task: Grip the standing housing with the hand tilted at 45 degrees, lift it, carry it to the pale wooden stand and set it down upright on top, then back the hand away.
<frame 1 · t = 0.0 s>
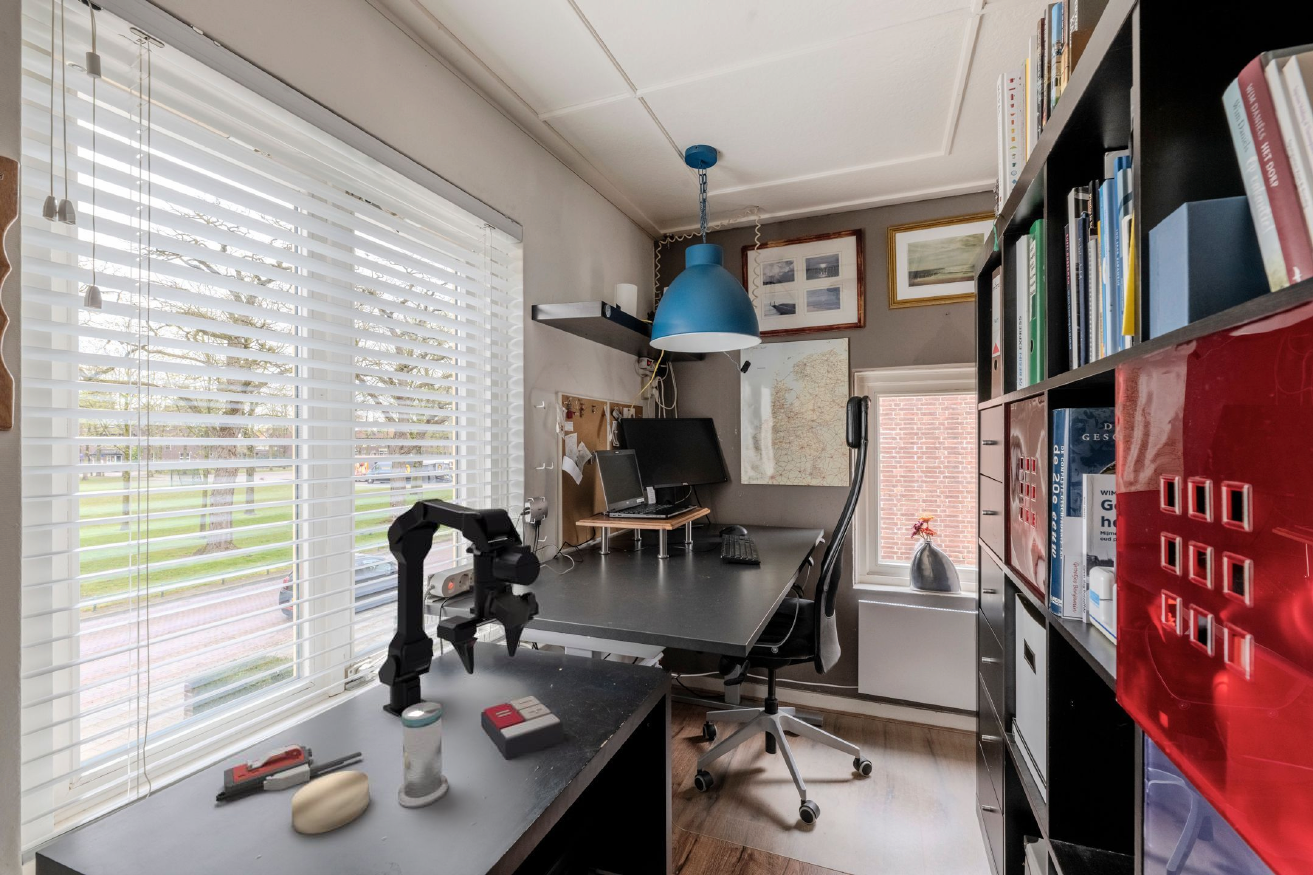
hand: (491, 664, 100), 15 cm above the table, tool pointing down, fingers open, 9 cm apart
housing: (423, 792, 87), on the table
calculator: (521, 735, 105), on the table
stand: (331, 810, 83), on the table
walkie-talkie: (291, 777, 93), on the table
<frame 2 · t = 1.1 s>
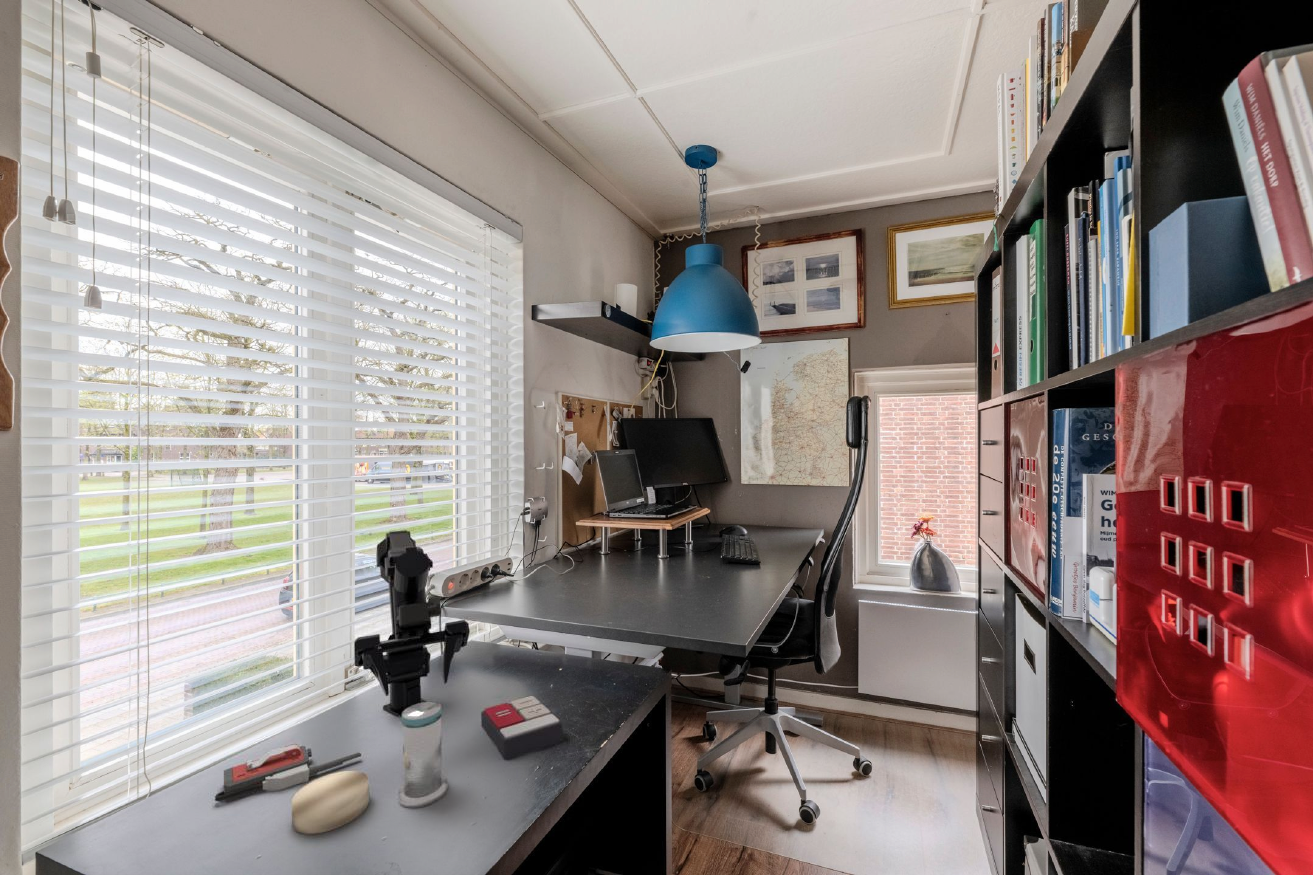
hand: (417, 688, 94), 13 cm above the table, tool tilted 45°, fingers open, 9 cm apart
nothing on the table moved.
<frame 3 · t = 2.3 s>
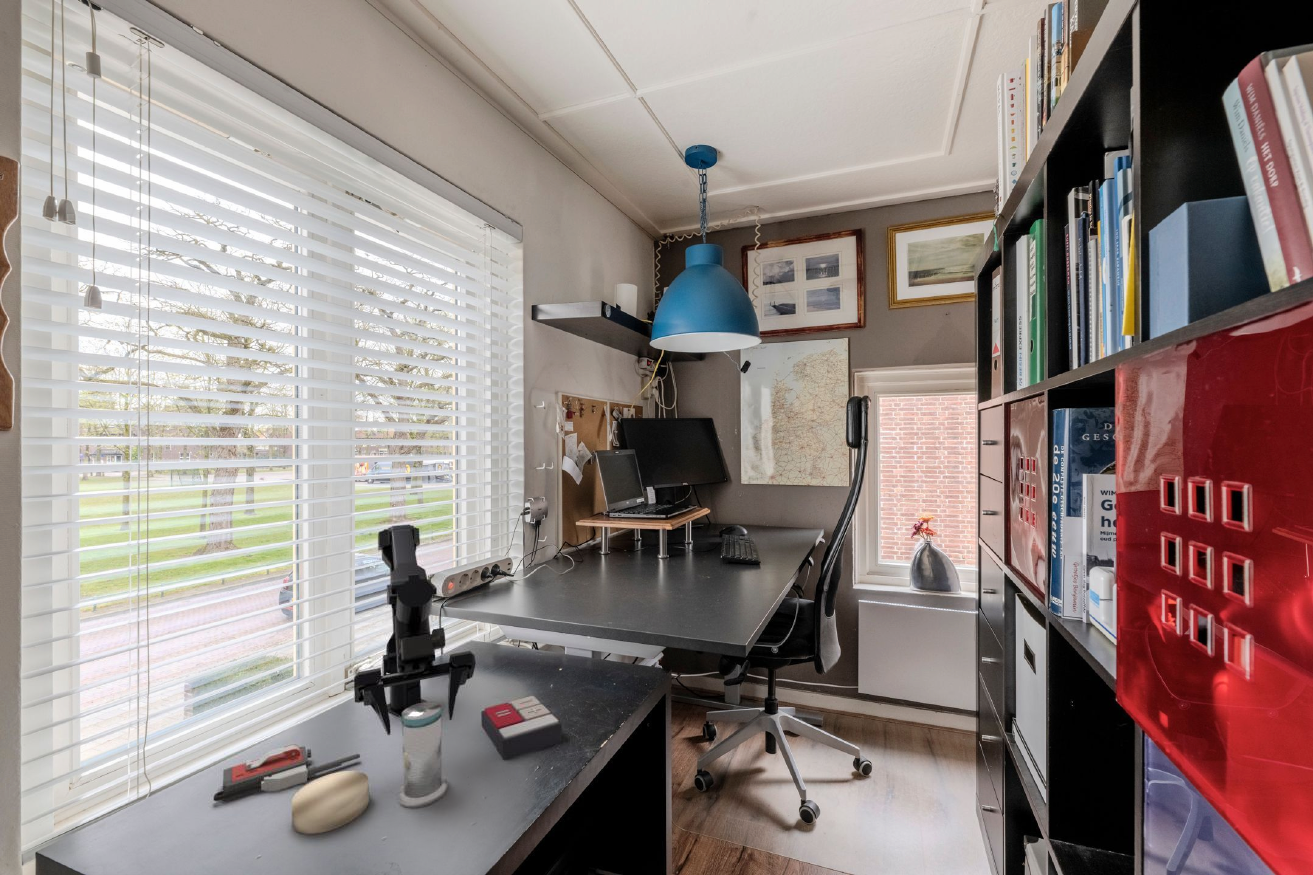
hand: (420, 726, 89), 9 cm above the table, tool tilted 45°, fingers open, 9 cm apart
nothing on the table moved.
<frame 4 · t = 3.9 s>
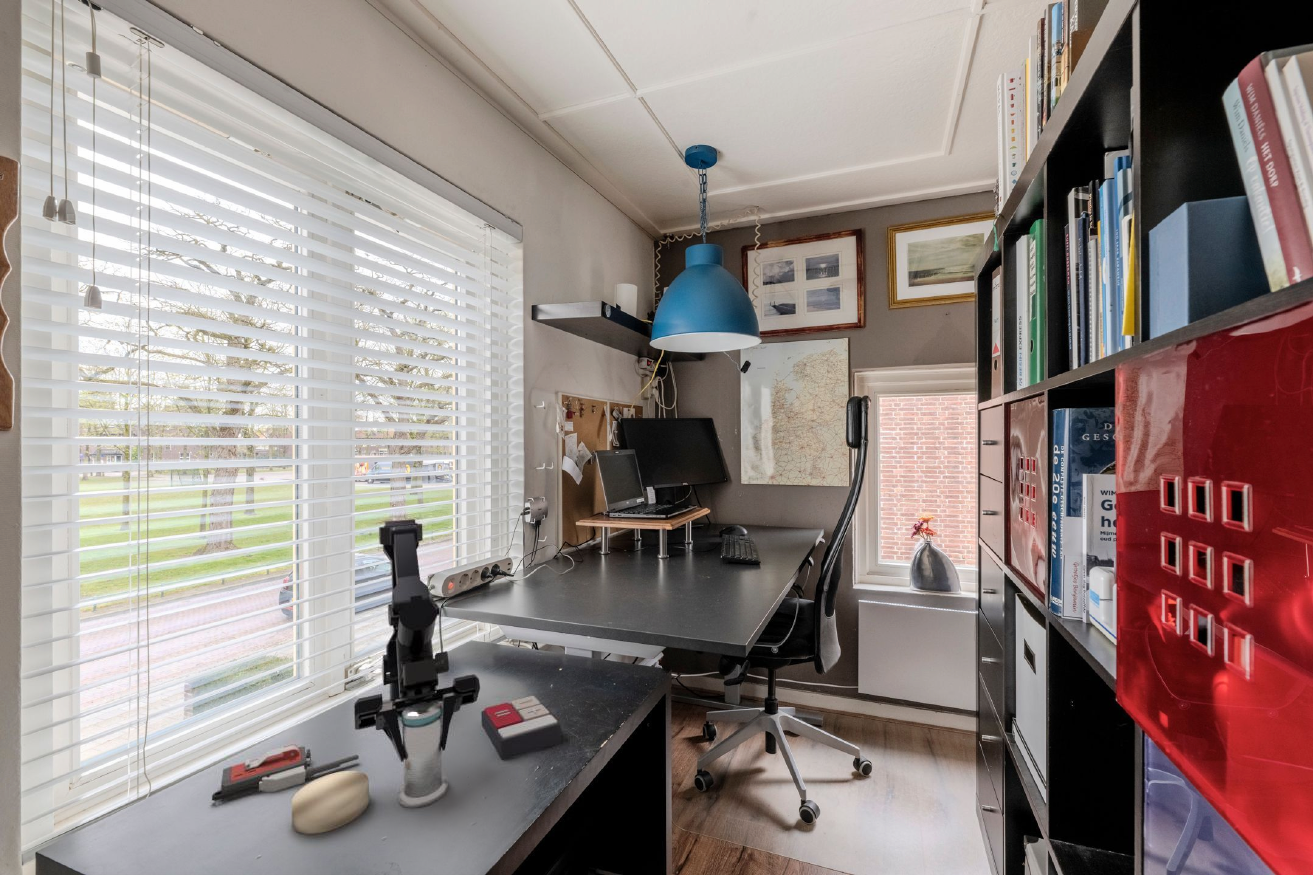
hand: (423, 755, 86), 7 cm above the table, tool tilted 45°, fingers closed on housing, 6 cm apart
housing: (423, 792, 87), on the table, touching gripper
everything else where it was.
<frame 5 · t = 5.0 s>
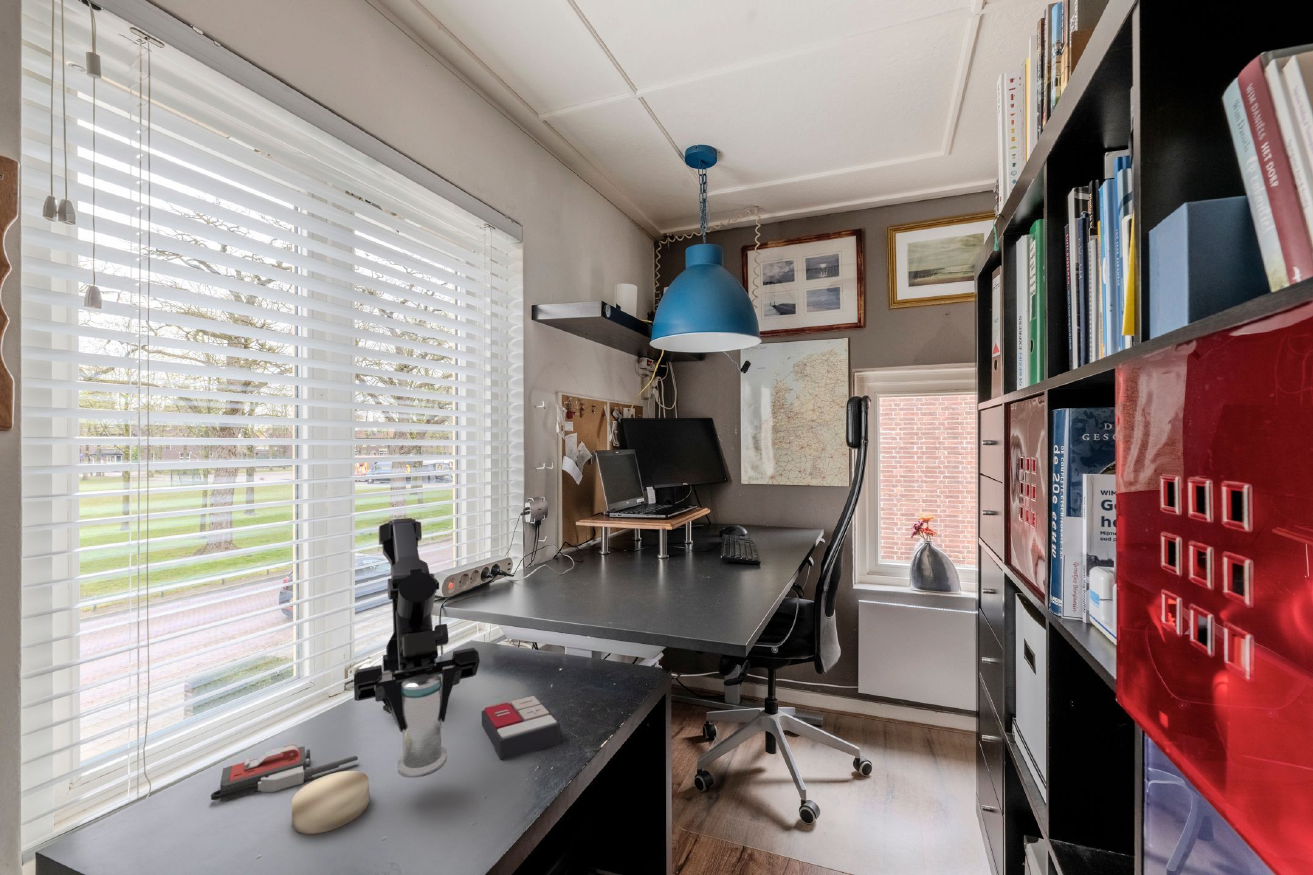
hand: (422, 725, 86), 11 cm above the table, tool tilted 45°, fingers closed on housing, 6 cm apart
housing: (422, 763, 87), point 5 cm above the table, touching gripper
everything else where it was.
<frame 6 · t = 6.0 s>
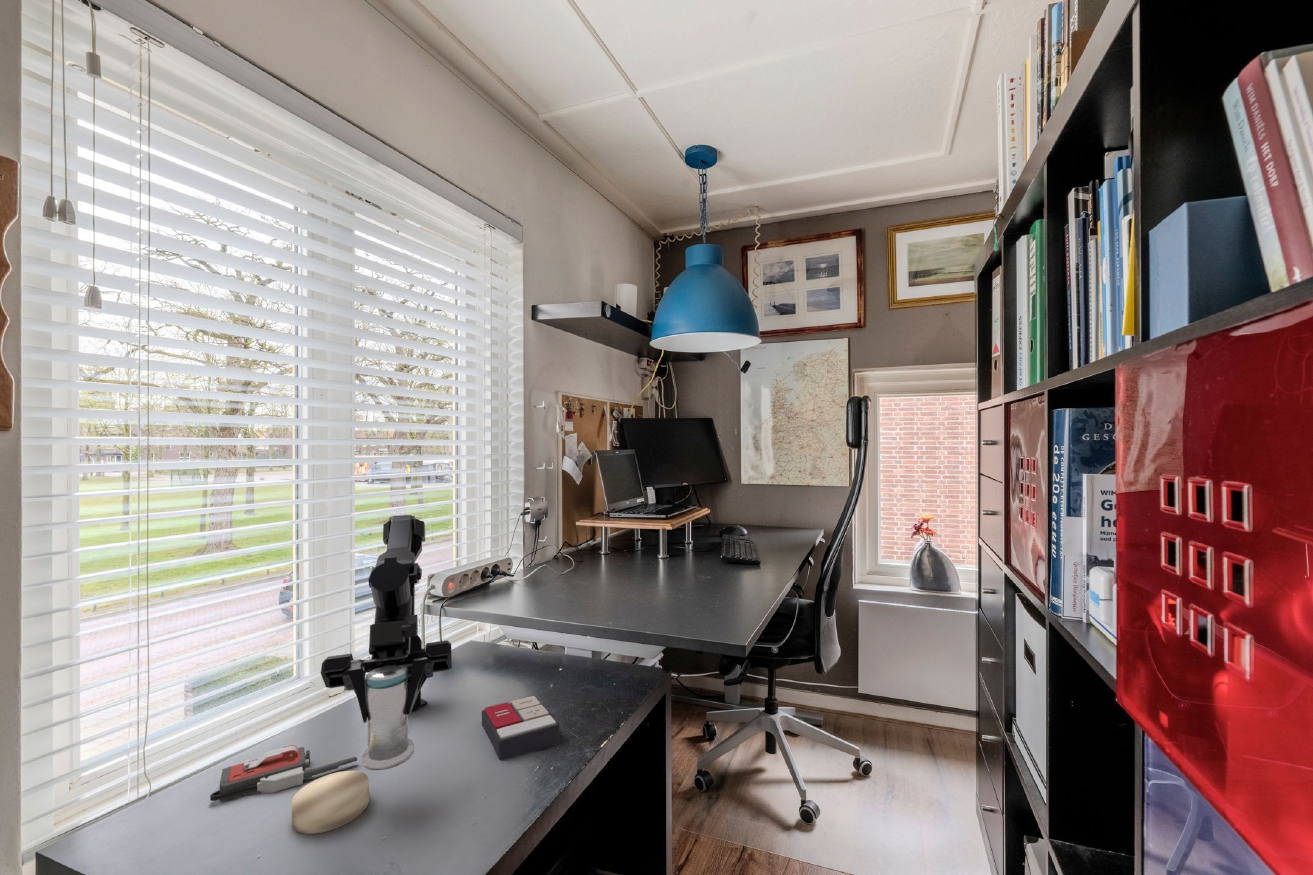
hand: (386, 717, 84), 13 cm above the table, tool tilted 45°, fingers closed on housing, 6 cm apart
housing: (388, 756, 85), point 7 cm above the table, touching gripper
everything else where it was.
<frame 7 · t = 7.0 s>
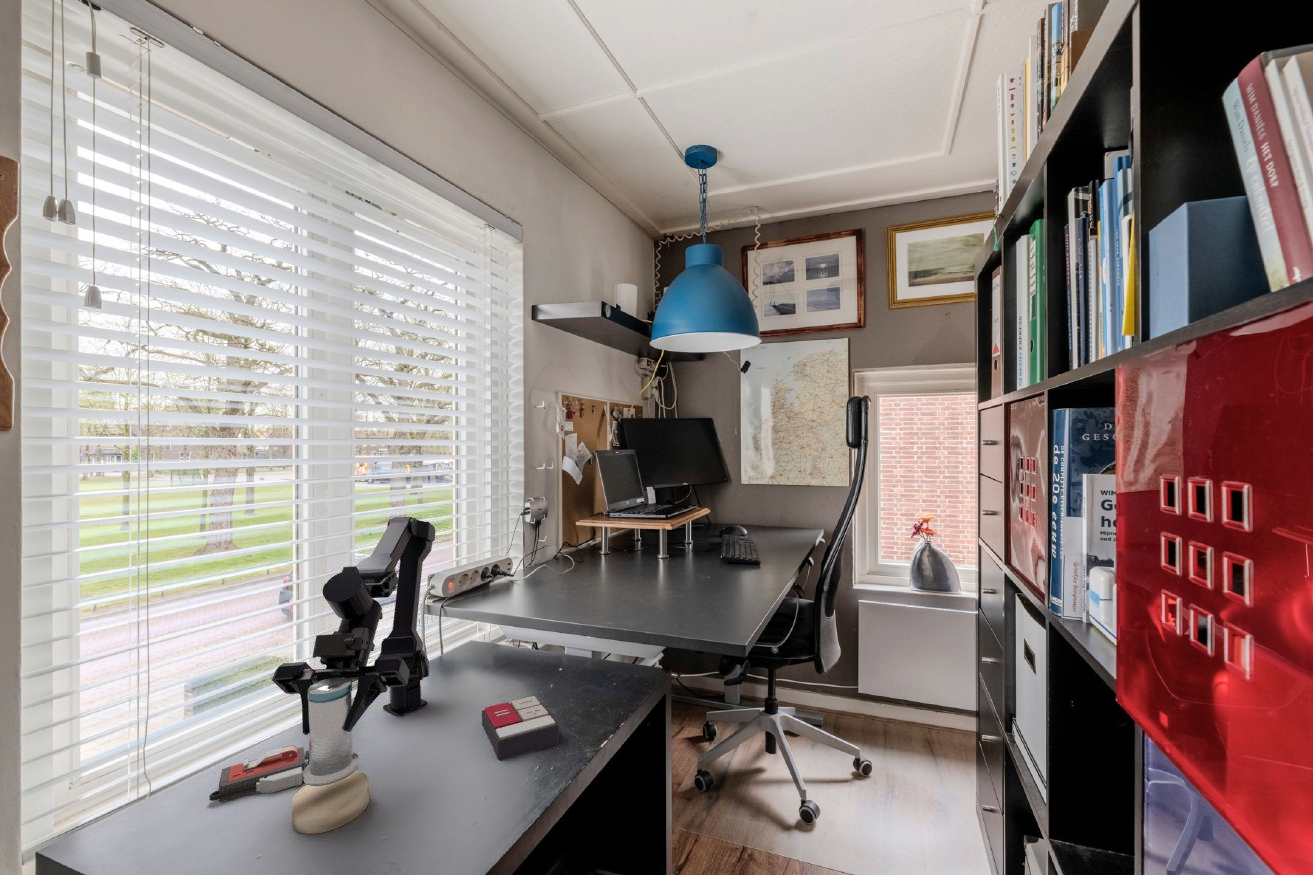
hand: (326, 732, 82), 12 cm above the table, tool tilted 45°, fingers closed on housing, 6 cm apart
housing: (331, 771, 83), point 6 cm above the table, touching gripper
everything else where it was.
when the fingers open (11 cm above the table, at t = 8.1 s): housing drops 1 cm, resting on stand.
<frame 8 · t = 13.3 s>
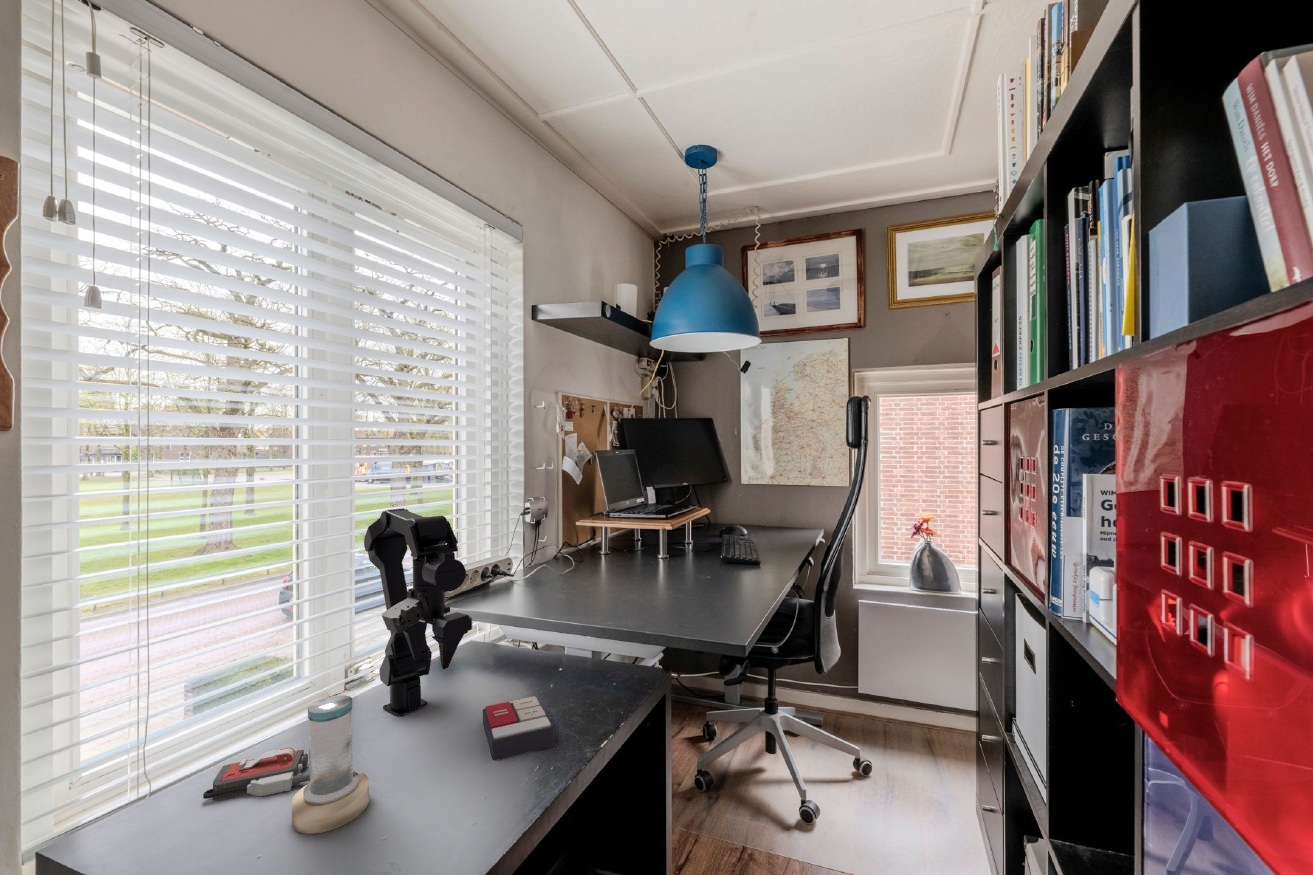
hand: (430, 663, 106), 13 cm above the table, tool pointing down, fingers open, 9 cm apart
housing: (331, 789, 83), point 3 cm above the table, touching stand
at the end: housing 0.1 cm off-centre on the stand, point 3.0 cm above the stand's base; housing tilted 0°; the gripper is holding nothing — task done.
